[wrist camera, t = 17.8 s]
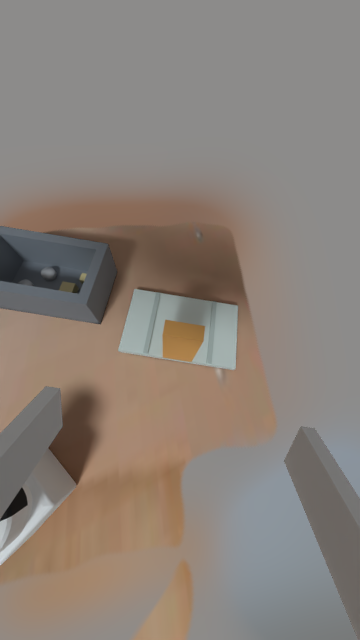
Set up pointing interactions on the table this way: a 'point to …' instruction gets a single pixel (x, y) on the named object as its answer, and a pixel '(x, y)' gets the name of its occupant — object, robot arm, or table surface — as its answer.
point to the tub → (55, 275)
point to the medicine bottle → (34, 503)
